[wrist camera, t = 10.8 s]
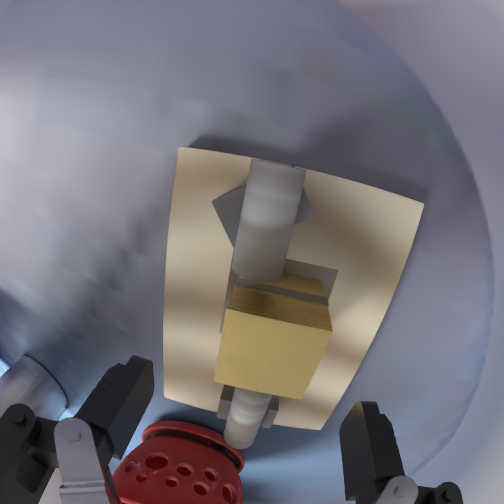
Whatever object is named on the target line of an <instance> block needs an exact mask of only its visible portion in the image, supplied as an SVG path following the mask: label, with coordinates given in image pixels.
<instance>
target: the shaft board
mask: <svg viewBox="0 0 504 504" xmlns="http://www.w3.org/2000/svg"><path fill="white" fill-rule="evenodd" d="M423 207H424V204H423V203H421V202H418V201H416V200H413V199H410V198H407V197H404V196H401V195H398V194H395V193H392V192H389V191H386V190H383V189H380V188H376V187H373V186H370V185H366V184H363V183H359V182H356V181H352V180H349V179H345V178H341V177H338V176H334V175H330V174H326V173H322V172H318V171H314V170H310V169H305V168H301V167H297V166H294V165H293V164H292V165H288V164H283V163H278V162H274V161H269V160H264V159H259V158H253V157H248V156H242V155H237V154H231V153H225V152H218V151H212V150H205V149H198V148H190V147H179V151H178V157H177V164H176V171H175V178H174V186H173V193H172V202H171V211H170V220H169V231H168V242H167V255H166V270H165V288H164V315H163V378H164V397H166V398H169V399H172V400H175V401H178V402H181V403H184V404H188V405H191V406H195V407H198V408H202V409H205V410H209V411H213V412H217V417H216V418H220V419H224V420H227V423H226V427H225V431H224V440H225V442H226V443H227V444H228V445H229V446H230V447H232V448H235V449H245V448H248V447H250V446H251V445H252V444H253V442H254V439H255V437H256V435H257V432H258V430H259V428H260V427H263V428H269V429H270V428H271V426H272V424H275V425H281V426H288V427H296V428H304V429H313V430H321V428H322V427H323V425H324V424H325V422H326V421H327V419H328V418H329V416H330V415H331V413H332V412H333V410H334V409H335V407H336V405H337V404H338V402H339V401H340V399H341V397H342V396H343V394H344V392H345V391H346V389H347V387H348V385H349V384H350V382H351V380H352V379H353V377H354V375H355V373H356V371H357V370H358V368H359V366H360V364H361V362H362V360H363V358H364V356H365V355H366V353H367V351H368V349H369V347H370V345H371V343H372V341H373V339H374V337H375V335H376V333H377V330H378V328H379V326H380V324H381V322H382V320H383V318H384V315H385V313H386V311H387V309H388V306H389V304H390V302H391V299H392V297H393V294H394V292H395V290H396V287H397V285H398V282H399V279H400V277H401V274H402V272H403V269H404V266H405V264H406V261H407V258H408V255H409V252H410V249H411V246H412V243H413V240H414V237H415V234H416V231H417V228H418V225H419V221H420V218H421V214H422V211H423ZM283 272H287V273H291V274H296V275H300V276H305V277H309V278H314V279H318V280H322V282H323V287H324V291H325V296H326V297H327V299H328V303H329V307H328V310H329V315H330V319H331V324H332V329H333V332H332V335H331V337H330V339H329V342H328V344H327V346H326V349H325V351H324V353H323V355H322V358H321V360H320V362H319V364H318V367H317V369H316V371H315V373H314V375H313V377H312V379H311V381H310V383H309V386H308V388H307V390H306V392H305V394H304V396H303V398H302V399H295V398H289V397H283V396H277V395H272V394H267V393H262V392H257V391H252V390H247V389H243V388H238V387H234V386H230V385H226V384H222V383H218V382H214V377H215V370H216V364H217V358H218V353H219V347H220V341H221V335H222V329H223V323H224V318H225V312H226V307H227V305H228V303H229V300H230V298H231V295H232V293H233V290H234V285H235V282H236V280H237V277H238V278H239V276H241V277H243V278H246V279H248V280H252V281H256V282H275V281H278V280H279V279H280V278H281V277H282V273H283Z"/></svg>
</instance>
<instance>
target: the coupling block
mask: <svg viewBox="0 0 504 504" xmlns="http://www.w3.org/2000/svg"><path fill="white" fill-rule="evenodd" d="M328 307H329V303H328V299H327V297H326V296H325V291H324V287H323V282H322V280H318V279H314V278H309V277H305V276H300V275H296V274H291V273H287V272H283V273H282V277H281V278H280V279H279V280H278V281H275V282H256V281H252V280H248V279H246V278H243V277H241V276H239V278H238V277H237V280H236V282H235V285H234V290H233V293H232V295H231V298H230V300H229V303H228V305H227V307H226V312H225V318H224V323H223V329H222V335H221V341H220V347H219V353H218V358H217V364H216V370H215V377H214V382H218V383H222V384H226V385H230V386H234V387H238V388H243V389H247V390H252V391H257V392H262V393H267V394H272V395H277V396H283V397H289V398H295V399H302V398H303V396H304V394H305V392H306V390H307V388H308V386H309V383H310V381H311V379H312V377H313V375H314V373H315V371H316V369H317V367H318V364H319V362H320V360H321V358H322V355H323V353H324V351H325V349H326V346H327V344H328V342H329V339H330V337H331V335H332V332H333V329H332V324H331V319H330V315H329V310H328Z"/></svg>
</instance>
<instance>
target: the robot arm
mask: <svg viewBox="0 0 504 504" xmlns="http://www.w3.org/2000/svg"><path fill="white" fill-rule="evenodd" d="M153 392H154V375H153V362H152V361H150V360H147V359H144V358H141V357H138V356H136V355H133V356H132V357H131V358H130V360H129V361H128V363H127V364H126V365H123V364H120V363H118V364H116V365H115V366H113V367H111V368H110V369H108V370H107V372H106V373H105V375H104V376H103V377H102V380H100V381H99V383H98V384H97V386H96V388H94V390H93V391H92V392H91V394H90V395H89V397H88V398H87V399H86V401H85V402H84V404H83V405H82V407H81V408H80V409H79V411H78V412H77V414H76V415H75V416H74V417H70V418H65V419H62V420H61V421H58V420H59V418H60V417H61V416H62V414H63V413H64V412H65V410H66V409H65V406H66V405H67V399H66V396H65V394H64V392H63V391H62V389H61V388H60V386H59V385H58V383H57V382H56V381H55V380H54V378H53V377H52V376H51V375H50V374H49V373H48V372H47V371H46V370H45V369H44V368H43V367H42V366H41V365H40V364H39V363H37V362H36V361H35V360H33V359H32V358H30V357H28V356H22V357H21V358H20V359H19V360H18V361H17V362H16V363H15V364H14V365H13V366H11V367H10V368H9V369H8V370H7V371H6V372H5V373H4V374H3V375H2V376H1V377H0V504H38V503H39V501H40V499H41V496H42V494H43V492H44V490H45V488H46V486H47V484H48V482H49V480H50V478H51V476H52V474H53V472H54V470H55V468H59V469H60V474H61V479H62V486H60V490H59V491H60V497H61V502H62V504H122V503H121V500H120V498H119V495H118V492H117V489H116V487H115V484H114V481H113V478H112V475H111V472H110V469H109V466H108V464H109V462H110V460H111V458H112V457H114V458H116V459H118V460H121V459H122V457H123V455H124V453H125V451H126V448H127V446H128V444H129V442H130V440H131V438H132V436H133V434H134V432H135V430H136V428H137V426H138V424H139V422H140V420H141V418H142V416H143V414H144V412H145V410H146V409H147V407H148V405H149V403H150V401H151V398H152V396H153ZM339 436H340V444H341V453H342V463H343V473H344V484H345V497H346V501H352V500H356V504H463V500H462V495H461V491H460V489H459V487H458V486H457V485H456V484H454V483H452V482H444V483H442V484H441V485H439V486H438V487H437V488H430V487H422V486H417V484H416V483H415V481H414V480H413V479H411V478H410V477H407V476H405V473H404V470H403V465H402V461H401V457H400V453H399V449H398V446H397V444H396V438H395V436H394V431H393V427H392V424H391V422H390V421H389V420H388V418H387V417H386V416H385V414H380V412H379V409H378V405H377V403H376V402H371V401H357V402H356V403H355V404H354V406H353V407H352V409H351V410H350V412H349V413H348V415H347V416H346V418H345V419H344V421H343V422H342V424H341V427H340V433H339Z"/></svg>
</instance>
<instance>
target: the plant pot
mask: <svg viewBox="0 0 504 504" xmlns="http://www.w3.org/2000/svg"><path fill="white" fill-rule="evenodd" d="M142 441H143V443H142V444H140V445H139V446H137V447H136V448H135V449H134V450H133V451H131V452H130V453H129V454H128V455H127V457H126V458H125V459H124V460H123V461H122V463H121V464H120V465H119V467H118V468H117V469H116V471H115V473H114V474H113V476H112V478H113V481H114V484H115V487H116V489H117V492H118V495H119V498H120V500H121V503H122V504H228V502H229V504H243V489H242V484H241V480H240V477H239V474H238V473H240V472H241V471H242V469H243V468H244V457H243V455H242V453H241V452H240V450H239V449H235V448H232V447H230V446H229V445H228V444H227V443H226V442H225V440H224V436H222V435H221V434H219V433H217V432H215V431H212V430H210V429H208V428H205V427H202V426H199V425H196V424H192V423H188V422H182V421H161V422H157V423H154V424H151V425H150V426H148V427H147V428H146V429H145V430H144V432H143V434H142Z"/></svg>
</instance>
